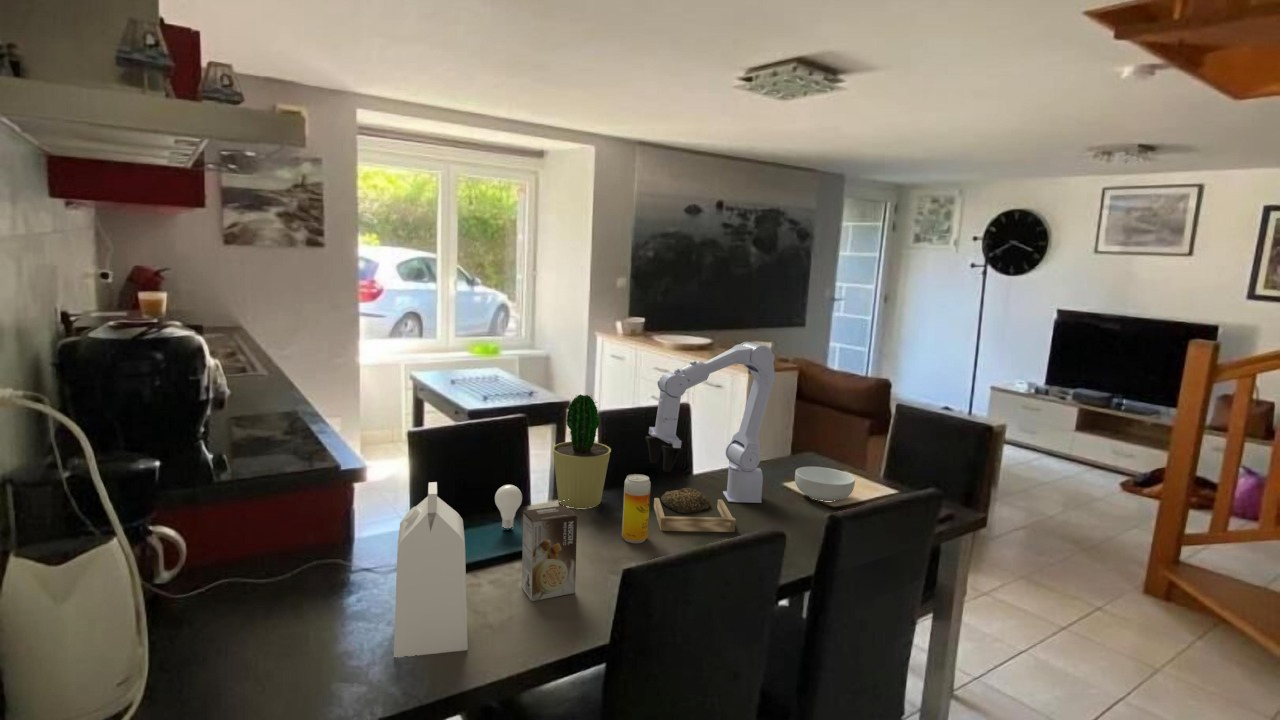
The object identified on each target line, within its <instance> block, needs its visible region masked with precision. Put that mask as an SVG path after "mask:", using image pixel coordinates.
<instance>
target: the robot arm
mask: <svg viewBox="0 0 1280 720" xmlns="http://www.w3.org/2000/svg"><path fill="white" fill-rule="evenodd" d="M775 358H776V357H775V355H774V353H773V352H772V350H771V349H770V347H768V346H766V345H760V344H757V343H754V342H752V341H744V342H742V343H740V344H739V343H738V344H735V345H734V346H733V347H731V348H730V349H727V350H726V351H724V352H722V353H720V354H718V355H716V356H715V357H713V358H711V359H708V360H707V361H704V362H703V361H701V360H690V361H689V363H688V365H686V366H684V367H683V366H682V367H681V368H675V369H674V372H670V371H667V372H665V373H663V374H662V375H661V377H659V380H657V388H658V389H659V396H658V397H659V398H658V404H657V412H656V419H655V426H649V428H648V434H649V435H646V436H645V437H644V439H645V441H646V444H647V448H648V457H649V463H650V464H658V463H659V460H660V458H661V457H660V456H661V451H662V456H663V457H662V471H663V472H667V473H668V472H672V470H673V467H674V465H675V463H676V461H677V459H678V457H679V456H680V454H681V453H682V452H683V450H684V448H683V447H682V442H683V441H682V440H681V439H680V438H679V437H678V436H677V427H678V420H679V413H680V406H681V399H682V398H681V397H682V396H683V395H684V394H685V393H686V392H687V390H688V389H691V388H693V387H695V386H697V385H699V384H702V383H704V382H705V381H707V380H708V379H709V377H710V374H713V373H715V372H717V371H721V370H723V369H725V368H728V367H730V366H733V365H735V364H737V365H743V366H744V367H746V368H747V369H748V370H749V372H750V373H751V376H752V377H753V381H752V385H751V388H750V392H749V395H748V399H747V402H746V406H745V409H744V411H743V412H744V413H743V415H742V419H741V421H740V425H739V430H738V431H737V432H736V433H734V434H733V436H732V438H731V440H730V442H729V444H727V446H726V448H725V456H726V458H727V460H728V470H727V471H728V473H727V486H726V490H723V491H722V493H723V496H724V497H725V498H726V500H727V502H729V503H749V504H750V503H753V504H755V503H757V504H758V503H759V504H762V502H763V501H762V494H763V483H764V481H763V480H764V479H763V478H764V476H763V475H764V474H763V471H762V469H761V467H758V466H759V465H760V462H761V456H760V451H761V444H760V440H759V434H760V430H761V427H762V425H763V424H762V423H763V420H764V417H765V413H766V410H767V407H768V402H769V400H770V397H771V394H772V393H771V392H772V389H773V385H774V382H775V379H776V372H775V371H776V370H775V365H774V362H775ZM665 443H667V444H665Z"/></svg>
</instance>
